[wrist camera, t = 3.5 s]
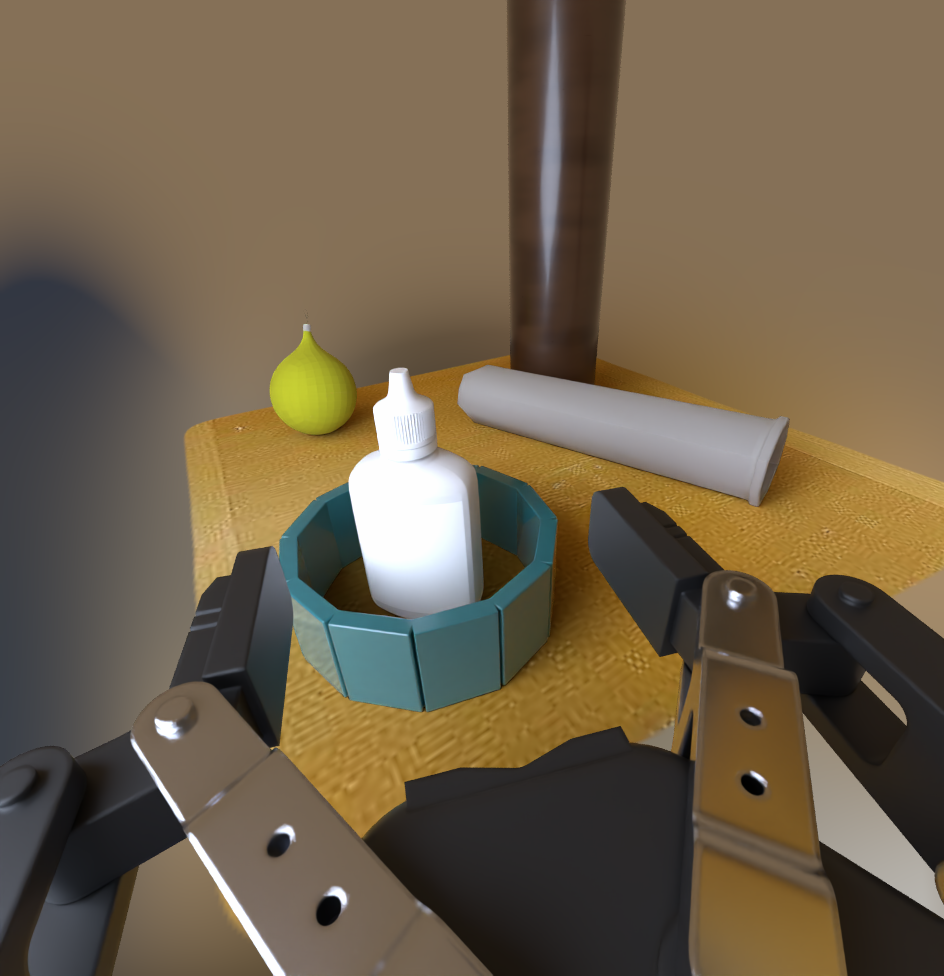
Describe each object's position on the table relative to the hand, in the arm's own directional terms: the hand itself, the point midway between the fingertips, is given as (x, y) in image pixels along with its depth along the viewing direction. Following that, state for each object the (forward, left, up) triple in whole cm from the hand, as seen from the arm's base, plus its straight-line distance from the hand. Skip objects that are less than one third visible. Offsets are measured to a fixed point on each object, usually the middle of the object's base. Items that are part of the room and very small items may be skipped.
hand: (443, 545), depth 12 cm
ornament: (+33, +3, -10) cm, 35 cm away
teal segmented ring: (+9, -1, -10) cm, 14 cm away
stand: (+32, -19, -10) cm, 38 cm away
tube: (+21, -16, -10) cm, 28 cm away
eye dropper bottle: (+9, -1, -10) cm, 14 cm away
